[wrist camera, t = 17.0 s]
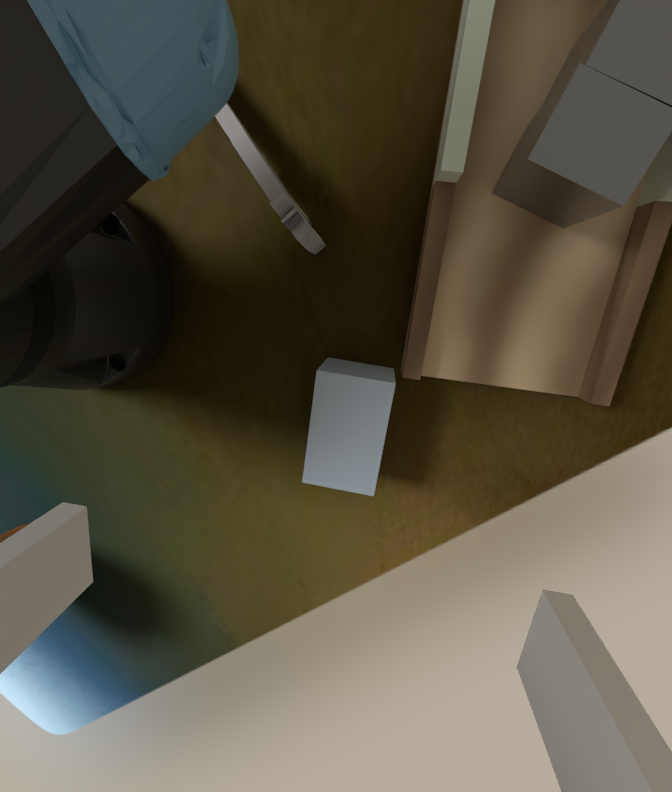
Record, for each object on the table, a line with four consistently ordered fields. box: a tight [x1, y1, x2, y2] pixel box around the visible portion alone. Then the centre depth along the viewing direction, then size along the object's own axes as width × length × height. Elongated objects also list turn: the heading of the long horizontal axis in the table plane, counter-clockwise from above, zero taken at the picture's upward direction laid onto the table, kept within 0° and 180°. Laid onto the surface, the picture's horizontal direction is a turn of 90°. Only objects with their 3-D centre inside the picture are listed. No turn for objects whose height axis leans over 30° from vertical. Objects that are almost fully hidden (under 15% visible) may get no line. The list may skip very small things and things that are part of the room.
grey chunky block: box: [541, 0, 672, 108], centre depth 18 cm, size 5×4×6 cm
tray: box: [432, 0, 672, 207], centre depth 19 cm, size 13×12×4 cm
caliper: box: [215, 102, 326, 255], centre depth 22 cm, size 20×1×6 cm, turn 36°
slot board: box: [401, 0, 672, 406], centre depth 22 cm, size 13×24×2 cm, turn 173°
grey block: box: [302, 358, 396, 496], centre depth 26 cm, size 5×5×8 cm
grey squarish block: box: [492, 63, 672, 228], centre depth 19 cm, size 5×4×6 cm
